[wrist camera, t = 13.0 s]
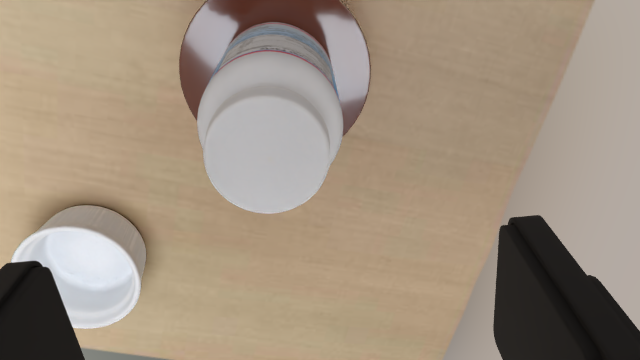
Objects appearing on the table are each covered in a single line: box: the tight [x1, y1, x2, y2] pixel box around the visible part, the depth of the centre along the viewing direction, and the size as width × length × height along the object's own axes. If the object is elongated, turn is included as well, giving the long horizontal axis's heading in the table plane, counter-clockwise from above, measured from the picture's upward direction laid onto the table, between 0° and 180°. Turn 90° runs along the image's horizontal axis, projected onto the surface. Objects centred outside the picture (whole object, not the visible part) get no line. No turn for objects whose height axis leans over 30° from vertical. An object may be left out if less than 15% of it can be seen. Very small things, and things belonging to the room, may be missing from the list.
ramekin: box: [11, 205, 146, 329], centre depth 40 cm, size 9×9×4 cm
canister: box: [179, 0, 371, 137], centre depth 33 cm, size 10×10×7 cm
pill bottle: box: [197, 22, 343, 214], centre depth 24 cm, size 6×6×11 cm
